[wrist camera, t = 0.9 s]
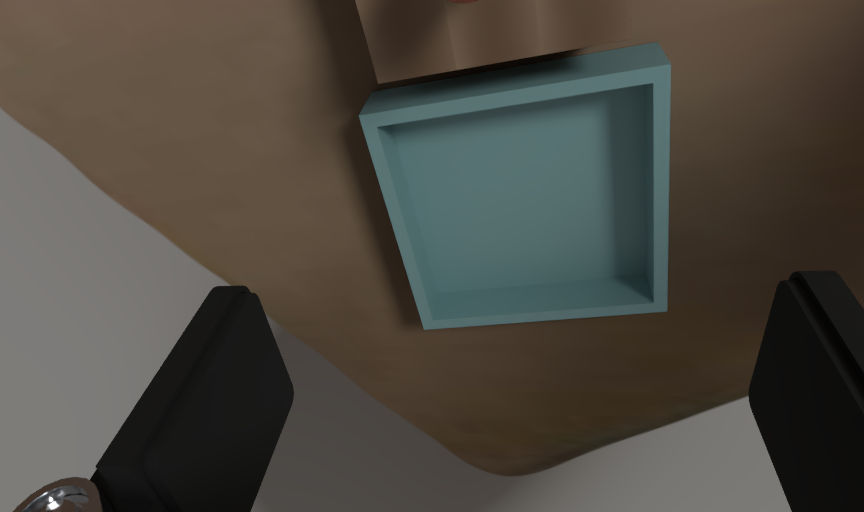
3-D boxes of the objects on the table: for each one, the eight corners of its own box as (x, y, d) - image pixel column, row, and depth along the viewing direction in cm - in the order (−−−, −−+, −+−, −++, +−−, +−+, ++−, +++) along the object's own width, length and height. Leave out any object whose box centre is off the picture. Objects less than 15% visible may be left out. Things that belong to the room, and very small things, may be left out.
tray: (657, 42, 31) (670, 64, 28) (657, 277, 40) (667, 311, 37) (371, 91, 35) (358, 115, 32) (430, 297, 44) (423, 329, 41)
